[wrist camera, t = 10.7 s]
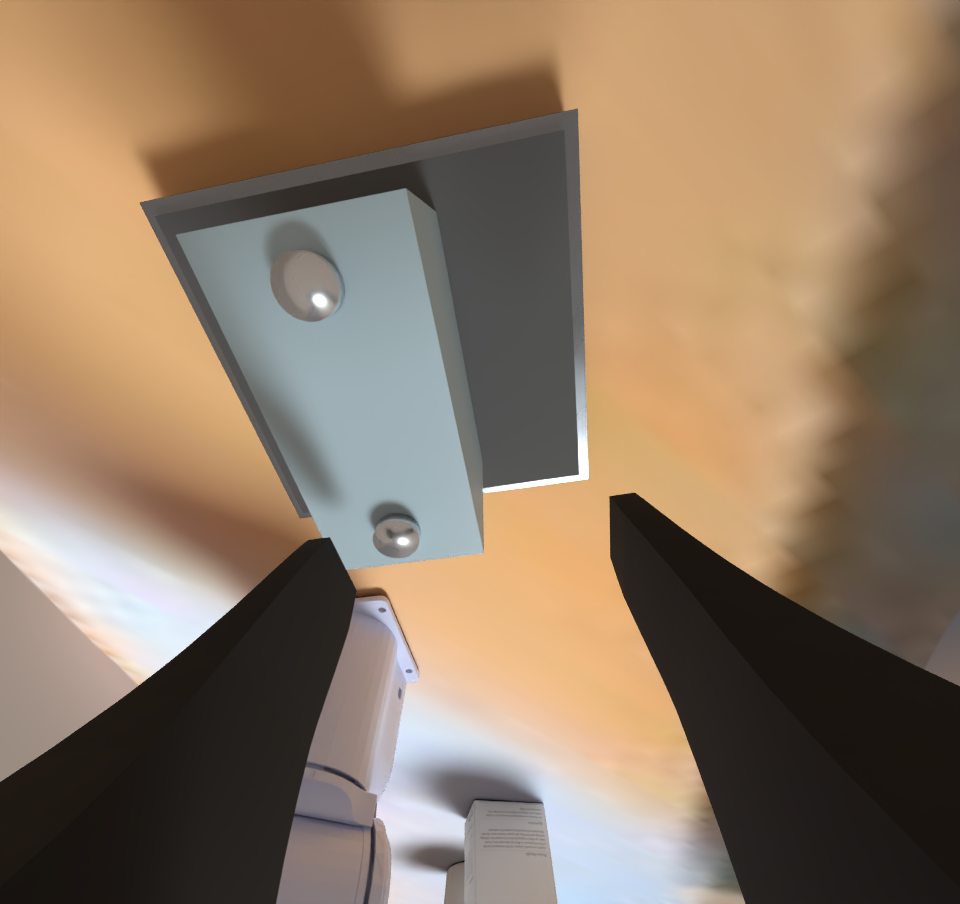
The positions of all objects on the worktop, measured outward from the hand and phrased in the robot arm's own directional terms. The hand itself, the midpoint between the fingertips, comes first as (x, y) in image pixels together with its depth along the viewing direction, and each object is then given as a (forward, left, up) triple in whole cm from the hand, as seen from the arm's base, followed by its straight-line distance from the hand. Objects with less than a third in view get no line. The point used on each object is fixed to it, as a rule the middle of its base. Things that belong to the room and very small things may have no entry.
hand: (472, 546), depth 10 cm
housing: (+3, +2, -8) cm, 9 cm away
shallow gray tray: (+3, +3, -10) cm, 11 cm away
